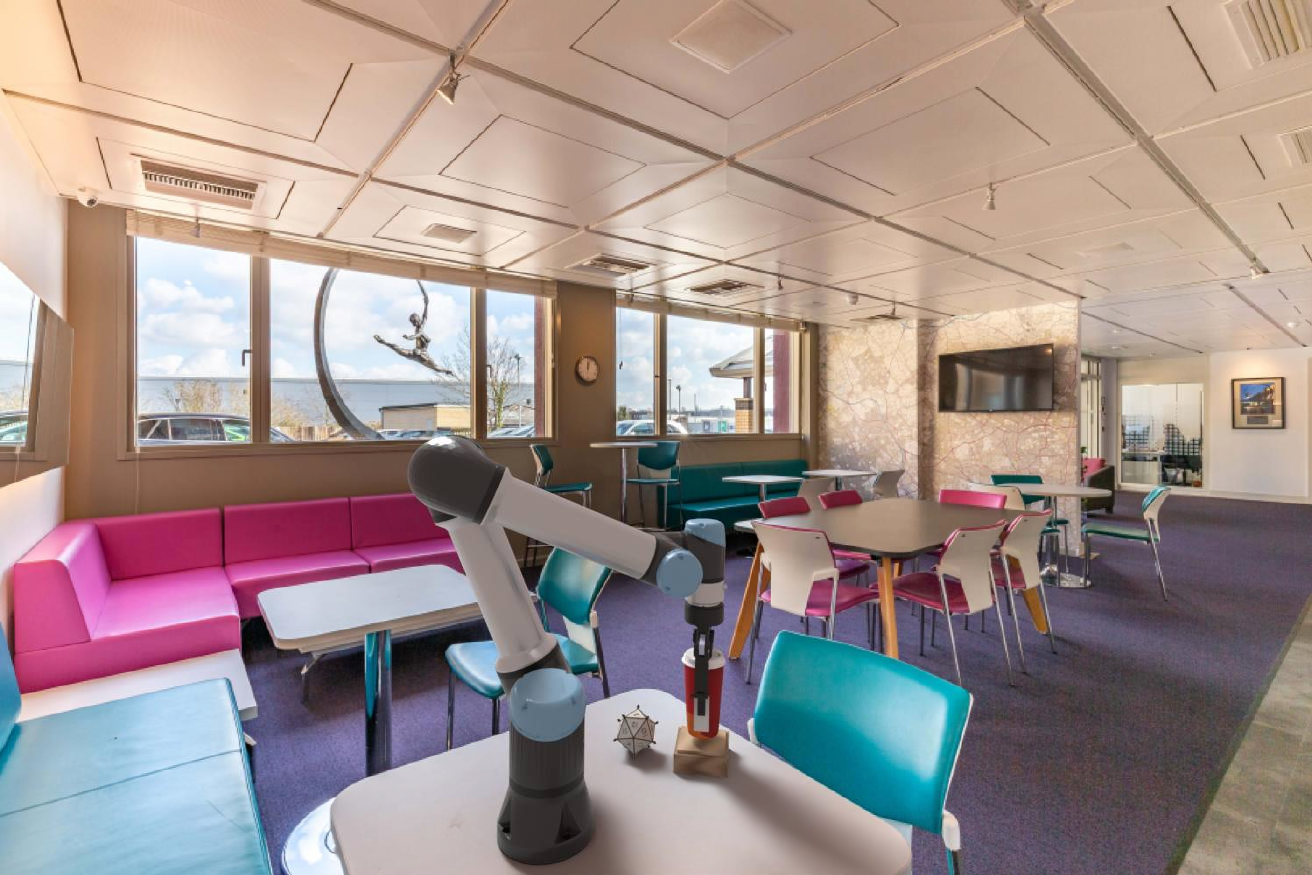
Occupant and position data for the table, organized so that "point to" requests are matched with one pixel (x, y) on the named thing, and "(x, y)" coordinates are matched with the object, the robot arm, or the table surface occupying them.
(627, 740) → the game die
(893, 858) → the table surface
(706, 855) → the table surface
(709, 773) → the plinth
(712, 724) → the coffee cup
